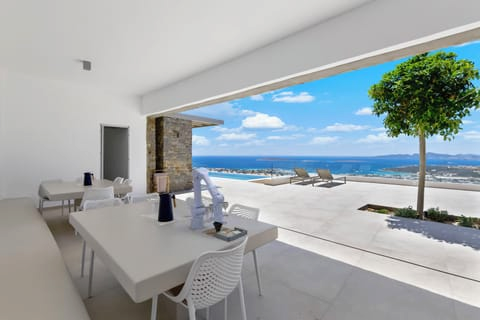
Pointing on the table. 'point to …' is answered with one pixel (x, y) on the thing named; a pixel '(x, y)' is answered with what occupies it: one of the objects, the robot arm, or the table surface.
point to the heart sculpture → (190, 203)
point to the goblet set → (211, 209)
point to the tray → (228, 239)
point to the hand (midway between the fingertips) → (218, 233)
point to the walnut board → (213, 232)
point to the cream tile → (222, 233)
